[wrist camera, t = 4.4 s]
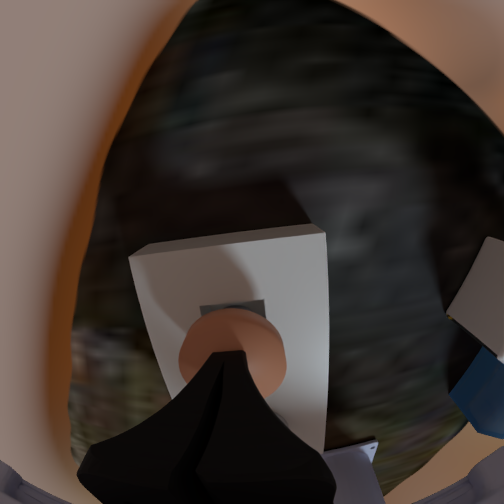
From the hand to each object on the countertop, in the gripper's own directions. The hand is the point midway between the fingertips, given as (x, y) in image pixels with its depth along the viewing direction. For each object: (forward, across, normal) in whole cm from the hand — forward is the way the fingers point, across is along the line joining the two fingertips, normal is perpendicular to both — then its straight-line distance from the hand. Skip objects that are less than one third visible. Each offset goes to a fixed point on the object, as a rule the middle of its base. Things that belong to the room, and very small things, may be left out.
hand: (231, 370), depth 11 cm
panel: (+6, 0, +4) cm, 7 cm away
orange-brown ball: (+4, 0, 0) cm, 4 cm away
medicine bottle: (+7, -20, +2) cm, 21 cm away
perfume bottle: (+7, -23, +12) cm, 27 cm away
